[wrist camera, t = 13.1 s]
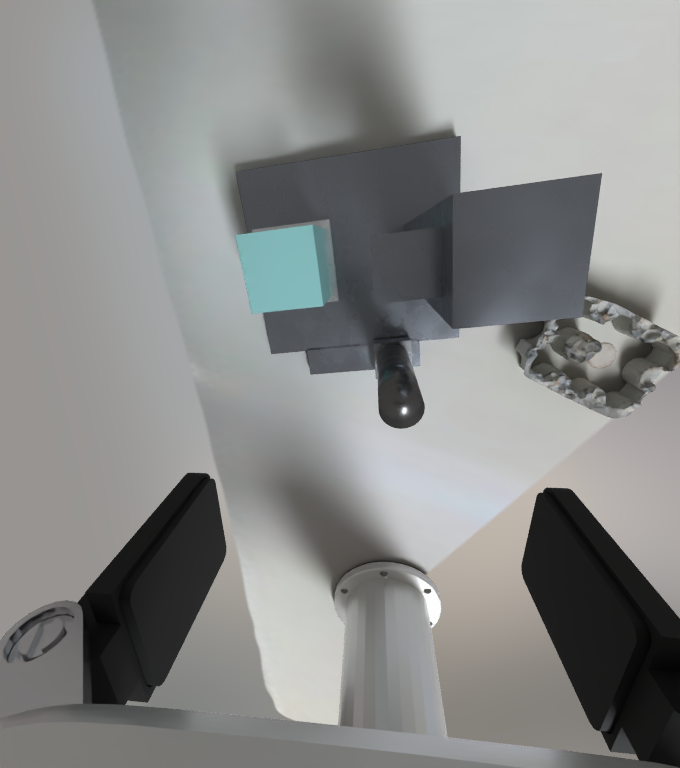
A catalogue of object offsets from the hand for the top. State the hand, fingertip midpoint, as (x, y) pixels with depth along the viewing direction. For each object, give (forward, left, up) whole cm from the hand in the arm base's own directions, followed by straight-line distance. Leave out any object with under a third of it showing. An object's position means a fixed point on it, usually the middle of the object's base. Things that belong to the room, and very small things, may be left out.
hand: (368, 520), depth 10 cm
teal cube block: (+7, +5, -20) cm, 22 cm away
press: (+5, +1, -22) cm, 22 cm away
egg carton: (-3, -17, -22) cm, 28 cm away
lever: (-1, -2, -20) cm, 20 cm away
